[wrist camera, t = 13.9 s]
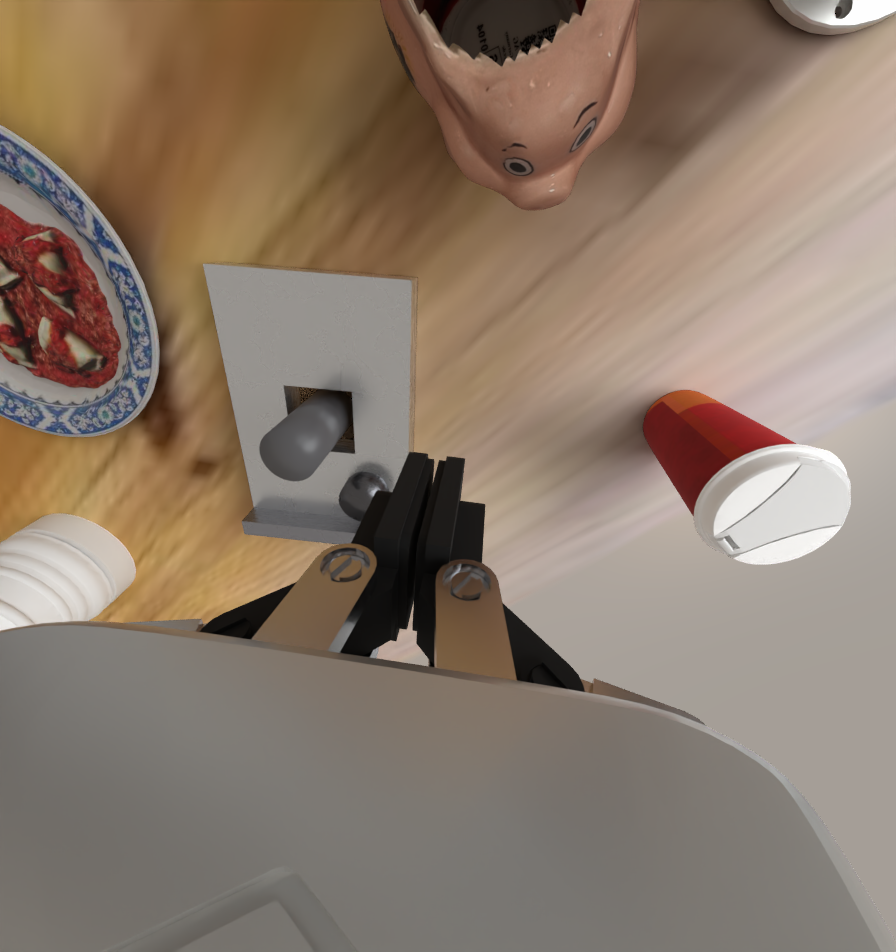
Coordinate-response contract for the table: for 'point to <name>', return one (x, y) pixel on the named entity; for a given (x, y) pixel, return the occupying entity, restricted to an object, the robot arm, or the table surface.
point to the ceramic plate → (67, 305)
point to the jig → (318, 384)
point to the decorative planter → (520, 84)
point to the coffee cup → (747, 480)
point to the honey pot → (61, 571)
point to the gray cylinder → (307, 435)
